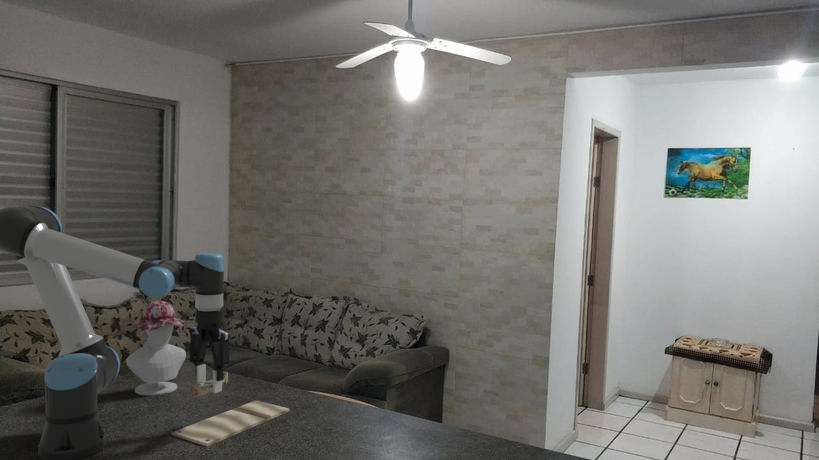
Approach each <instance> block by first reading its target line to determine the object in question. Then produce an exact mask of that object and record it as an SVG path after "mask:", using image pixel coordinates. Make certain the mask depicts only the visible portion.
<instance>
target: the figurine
mask: <svg viewBox="0 0 819 460" xmlns="http://www.w3.org/2000/svg"><path fill="white" fill-rule="evenodd" d="M228 382H229V372H228V371H224V370H223V380H222V386H224V385H226V384H228ZM211 392H212V393H213V379H211V380H206V381H201V382H199V383H197V382H196V383H193V384H192V385H190V388H189V394H190V396H192V397H194V398H195V397H196V398H197V397H200V396H203V395H204V396H205V395H207V394H210V393H211Z"/></svg>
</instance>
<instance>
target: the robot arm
mask: <svg viewBox="0 0 819 460" xmlns="http://www.w3.org/2000/svg"><path fill="white" fill-rule="evenodd" d="M62 232H63V226H62V222H61V220H60V218H59V216H58V215H57V214H56V213H55V212H54V211H52V210H51V209H49V208H46V207H43V206H40V205H25V206H24V205H23V206H8V207H4V208H1V209H0V251H2V252H4V253H8V254H11V255H14V257H15V259H16V261H17V263H19V264H21V265H25V266H26V268H27V270H28V273H29V275H30V277H31V279H32V281H33V284H34V286H35V288H36V291H37V293H38V295H39V298H40V300H41V301H42V304H43V307H44V309H45V311H46V313H47V316H48V318H49V320H50V322H51V323H50V324H51V325H52V327H53V329H54V332H55V334H56V336H57V338H58V340H59V343H60V346H61V350H60V352H59V354H58V357H56V358H54V359H52V360H51V361H49V363H48V364H47V365H46V367H45V370H44V371H45V373H44V377H43V378H44V379H43V380H44V393H45V394H44V395H45V399H44V400H45V401H44V402H45V404H44V405H45V424H44V427H43V431H42V434H41V437H40V439H39V444H38V446H37V447H38V450H37V451H38V452H37V454H38V457H39V458H41V459H42V460H79V459H83V458H86V457H90V456H92V455H94V454H97V453H98V452H100V451H101V450H102V449H104V448H105V446H106V436H105V433H104V429H103V428H102V425H101V421H100V419H99V417H98V395H99V394H100V393H101V392H102V391H104V390H105V389H106V388H108V387H109V386H110V385H111V384H113V382H114V381H115V379H116V378H117V377H118V374H119V372H120V368H121V361H120V358H119V355H118V353H117V352H116V351H115V350H114V349H113V348H112V347H110V346H108V345H107V343H106V340H105V338H104V337H103V336H102V335H98V334H97V333H95V330H94V328H93V326H92V324H91V321H90V319H89V317H88V315H87V312H86V310H85V307H84V306H83V303H82V301H81V298H80V296H79V294H78V291H77V289H76V286H75V285H74V282H73V280H72V277H71V276H70V273H69V270H68V268H71V269H74V270H77V271H79V272H83V273H87V274H90V275H94V276H96V277H99V278H103V279H106V280H109V281H112V282H115V283H117V284H118V283H119V284H121V285H125V286H128V287H132V288H134V289H138V290H139V291H141V292H142V293H143V294H144V295H146V296H147V297H149V298H159V297H163V296H165V295H167V294H169V293H170V292H171V291H172V290H173V291H174V289H176V288H194V289H195V290H194V291H195V294H194V295H195V296H194V299H195V302H194V304H195V306H194V308H196V310H195V313H194V316H195V317H194V319H195V321H194V322H195V323H196V324H197V325H196V326H194V327H191V328H189V329H188V331H189V336H190V338H189V362H190V363H193V365H194V366H195V377H196V384H197V383H199V382H201V381H207V375H206V374H207V364H205V363H206V361H205V357H206V354H207V350H208V347H210V349H211V355H212V360H213V363H214V368H213V369H212V380H213V391H212V394H217V393H220V392H222V391H223V385H222V380H223V371H224V370H225V368H229V367H230V364H231V363H230V337H231V333H230V331H228V332H227V331H224V330H223V327H222V323H223V322H224V309H223V307H224V281H225V280H224V279H225V278H224V276H225V275H224V274H225V273H224V272H225V269H224V258H223V257H224V256H222V254H221V253H219V252H218V253H217V252H201V253H196V255H195V257H194V259H193V260H171V259H161V260H158V259H157V260H152V261H150V260H147V259H143V258H140V257H137V256H134V255H131V254H128V253H125V252H121V251H119V250H115V249H113V248H109V247H107V246H103V245H100V244H96V243H94V242H90V241H88V240H85V239H81V238H78V237H75V236H72V235H69V234H66V233H62Z"/></svg>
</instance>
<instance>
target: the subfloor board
mask: <svg viewBox="0 0 819 460" xmlns="http://www.w3.org/2000/svg"><path fill="white" fill-rule="evenodd" d="M290 410H291V409H290V408H288V407H284V406H281V405H277V404H272V403H268V402H265V401H261V400H253V401H250V402H249V403H248V402H247V403H245V404H242V405H240V406H236V407H233V408H232V409H230V410H228V411H227V410H226V411H224V412H221V413H219V414H217V415H214V416H211V417H209V418H205V419H204V420H201V421H198V422H195V423H193V424H190V425H187V426H184V427H182V428H179V429H177V430H175V431H172V432H171V434H170V435H171V436H173V437H176V438H179V439H182V440H186V441H189V442H192V443H195V444H198V445H202V446H204V447H209V446H212V445H214V444H216V443H219V442H221V441H224V440H226V439H228V438H231V437H233V436H235V435H237V434H240V433H242V432H244V431H247V430H249V429H251V428H253V427H256V426H259V425H261V424H263V423H266V422H268V421H271V420H272V419H273V420H274V419H275V418H278V417H279V416H281V415H282V416H283V415H284V414H287V413H289V412H290Z"/></svg>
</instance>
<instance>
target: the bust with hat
mask: <svg viewBox="0 0 819 460" xmlns="http://www.w3.org/2000/svg"><path fill="white" fill-rule="evenodd" d="M141 313H142V314H141V317H142V320H141V321H140V322H139V323H137V324H136V325H134V327H133V329H140V330H142V331H145V332H146V336H147V340H146V342H145V343H144V345H143V346H141V347H140V348H138V349H136V350H135V351H134V352H132V353H131V354H129V356H128V357H127V358H126V359H125V363H126V366H127V367H128V368H129V370H131V372H132V373H133V374H134V375H135V376H137V377H138V378H139V379H141V381H143V382H144V384H140V385H139V386H136V387H135V389H134V392H135V393H136V394H137V395H141V396H159V395H166V394H169V393H172V392H174V391H175V390H177V389H178V384H176V383H175V382H171V381H170V380H174V379H176V378H177V376H178V373H179V371H180V370H181V367H182V365H183V363H184V362H185V360H186V357H187V352H186V350H185V349H183V348H181V347H179V346H176V345H173V344H170V343H169V342H170V339H171V337H172V335H173V332H174V331H173V330H174V327H175V326H174V325H176V326H178V327H183V326H185V321H184V320H182V319H180V318H177V317H175V315H176V313H175V309H174V306H173V305H172V304H171V303H170V302H167V301H163V300H155V301H152V302H149V303H148V304H146V305H145V306H144V308H143V310H142V312H141ZM165 393H166V394H165Z"/></svg>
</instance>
